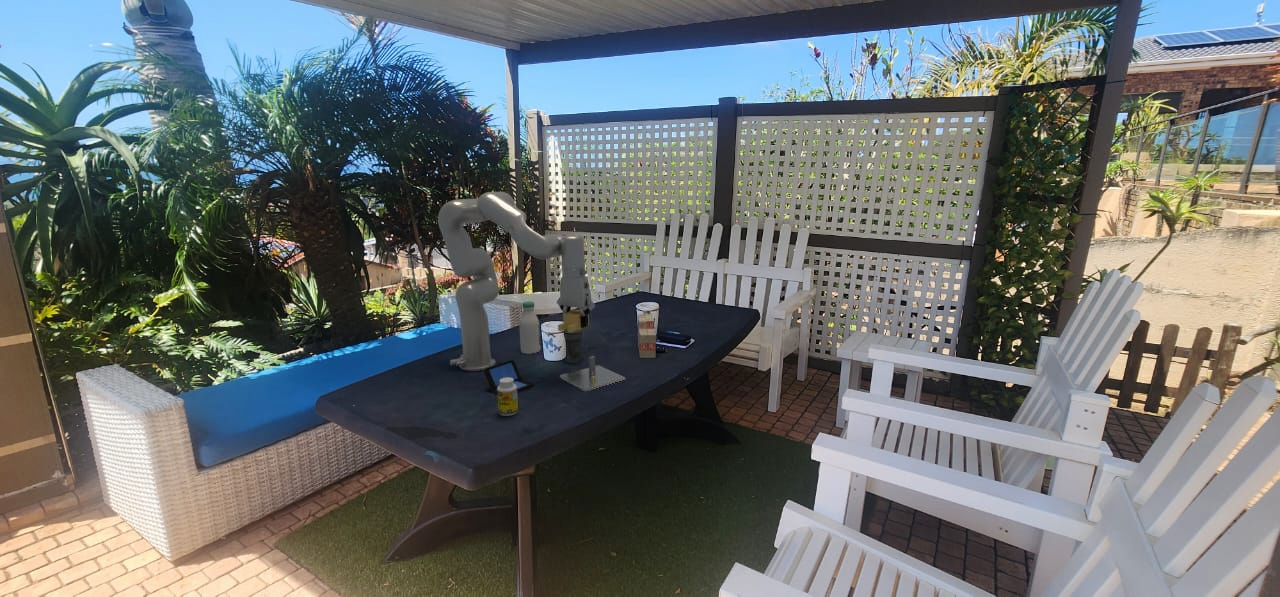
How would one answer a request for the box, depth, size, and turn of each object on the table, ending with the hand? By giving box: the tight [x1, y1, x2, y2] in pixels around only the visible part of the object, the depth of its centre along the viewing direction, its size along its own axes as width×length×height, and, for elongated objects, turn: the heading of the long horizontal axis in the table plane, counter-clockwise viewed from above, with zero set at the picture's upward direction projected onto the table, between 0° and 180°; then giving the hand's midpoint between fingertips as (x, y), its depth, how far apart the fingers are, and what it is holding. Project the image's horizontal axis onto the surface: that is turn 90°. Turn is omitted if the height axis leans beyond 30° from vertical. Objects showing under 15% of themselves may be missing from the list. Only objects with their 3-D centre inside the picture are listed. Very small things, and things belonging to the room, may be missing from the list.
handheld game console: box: [483, 359, 535, 395], centre depth 173 cm, size 12×11×7 cm
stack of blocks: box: [637, 313, 657, 359], centre depth 212 cm, size 21×6×12 cm, turn 2°
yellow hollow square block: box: [557, 309, 590, 332], centre depth 177 cm, size 10×6×5 cm, turn 149°
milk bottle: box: [519, 300, 541, 355], centre depth 209 cm, size 8×8×20 cm
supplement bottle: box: [496, 377, 519, 417], centre depth 154 cm, size 6×6×10 cm
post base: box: [559, 355, 626, 393], centre depth 180 cm, size 16×16×8 cm
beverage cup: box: [562, 328, 583, 364], centre depth 197 cm, size 7×7×20 cm
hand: (576, 325), depth 179 cm, fingers closed on yellow hollow square block, 6 cm apart
